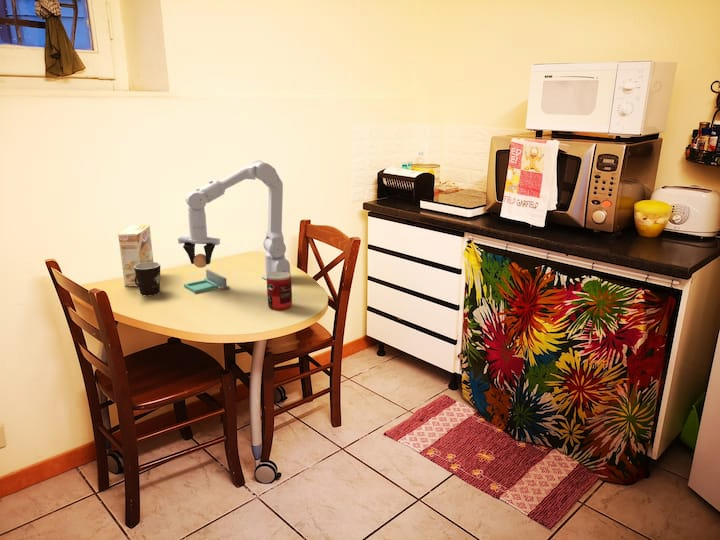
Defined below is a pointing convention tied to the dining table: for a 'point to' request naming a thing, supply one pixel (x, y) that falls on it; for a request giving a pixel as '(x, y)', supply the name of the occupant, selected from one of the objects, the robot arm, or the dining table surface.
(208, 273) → the wall
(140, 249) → the coffeecake box
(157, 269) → the coffee mug
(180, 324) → the dining table surface
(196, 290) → the coaster
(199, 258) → the ball
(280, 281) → the canned food
